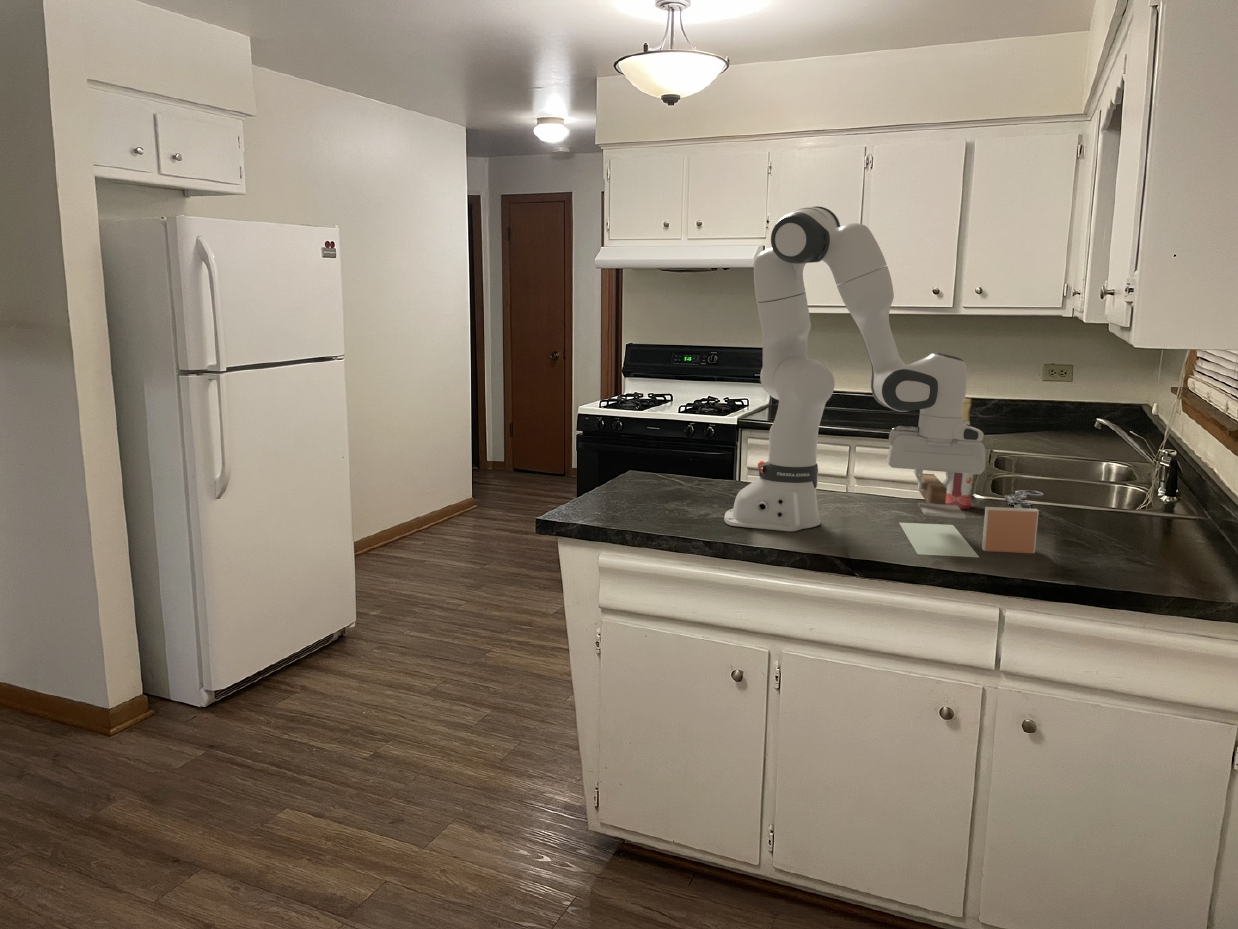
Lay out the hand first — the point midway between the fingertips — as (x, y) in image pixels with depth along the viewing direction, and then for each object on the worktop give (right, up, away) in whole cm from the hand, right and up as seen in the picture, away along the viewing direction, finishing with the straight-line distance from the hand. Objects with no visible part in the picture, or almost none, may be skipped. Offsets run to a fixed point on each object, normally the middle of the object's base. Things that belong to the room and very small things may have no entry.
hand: (932, 490), depth 197 cm
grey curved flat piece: (+37, -5, +36) cm, 52 cm away
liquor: (+16, -6, +28) cm, 33 cm away
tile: (+12, -13, -11) cm, 21 cm away
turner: (-1, -3, -3) cm, 4 cm away
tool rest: (0, -11, -2) cm, 12 cm away
